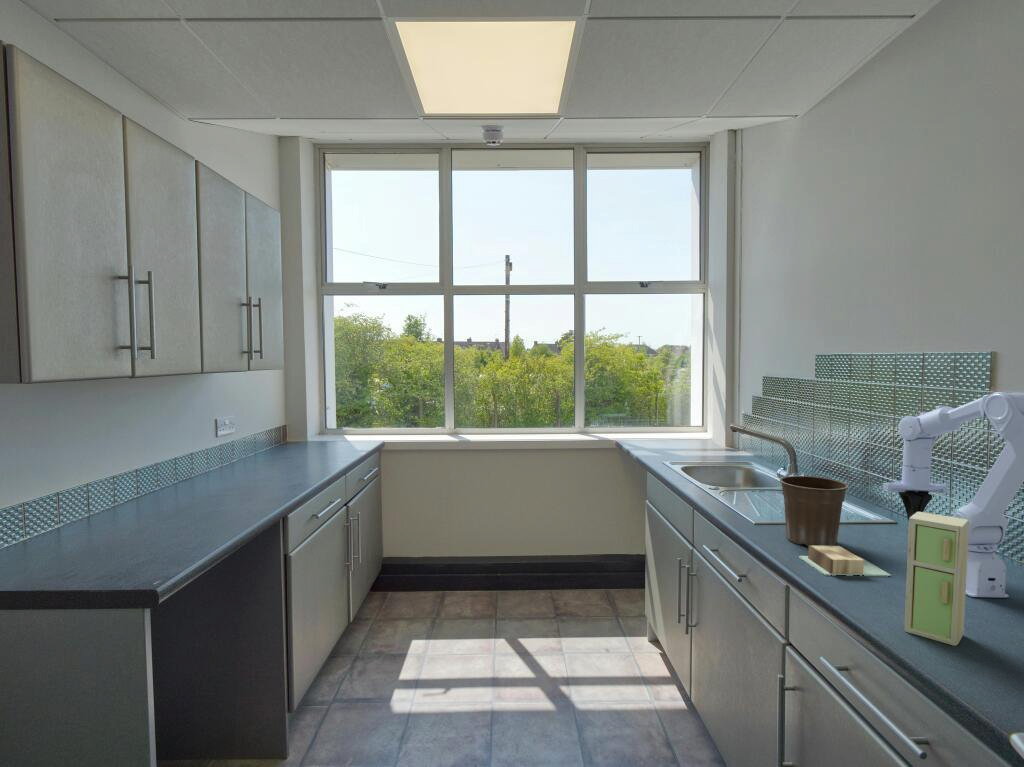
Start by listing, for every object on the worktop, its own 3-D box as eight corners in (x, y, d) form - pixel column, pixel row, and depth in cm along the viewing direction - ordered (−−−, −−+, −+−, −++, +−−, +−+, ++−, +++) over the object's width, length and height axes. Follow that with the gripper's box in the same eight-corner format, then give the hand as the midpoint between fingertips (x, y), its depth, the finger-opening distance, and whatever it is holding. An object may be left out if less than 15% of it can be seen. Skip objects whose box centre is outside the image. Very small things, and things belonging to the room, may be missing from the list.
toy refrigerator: (901, 632, 108) (907, 517, 107) (911, 620, 113) (917, 510, 112) (955, 648, 102) (963, 527, 101) (963, 635, 108) (970, 519, 107)
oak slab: (863, 560, 136) (831, 559, 136) (863, 574, 136) (830, 573, 136) (839, 545, 146) (808, 545, 146) (838, 558, 146) (808, 558, 146)
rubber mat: (890, 576, 136) (890, 574, 136) (824, 575, 136) (824, 573, 136) (859, 558, 148) (859, 556, 148) (798, 557, 148) (798, 555, 148)
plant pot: (803, 552, 151) (806, 489, 151) (764, 533, 167) (767, 476, 166) (859, 549, 155) (863, 487, 154) (816, 531, 170) (819, 475, 170)
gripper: (934, 463, 149) (931, 517, 150) (876, 462, 149) (873, 516, 149) (955, 469, 142) (952, 525, 143) (895, 468, 142) (891, 524, 142)
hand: (913, 521), depth 146 cm, fingers closed
